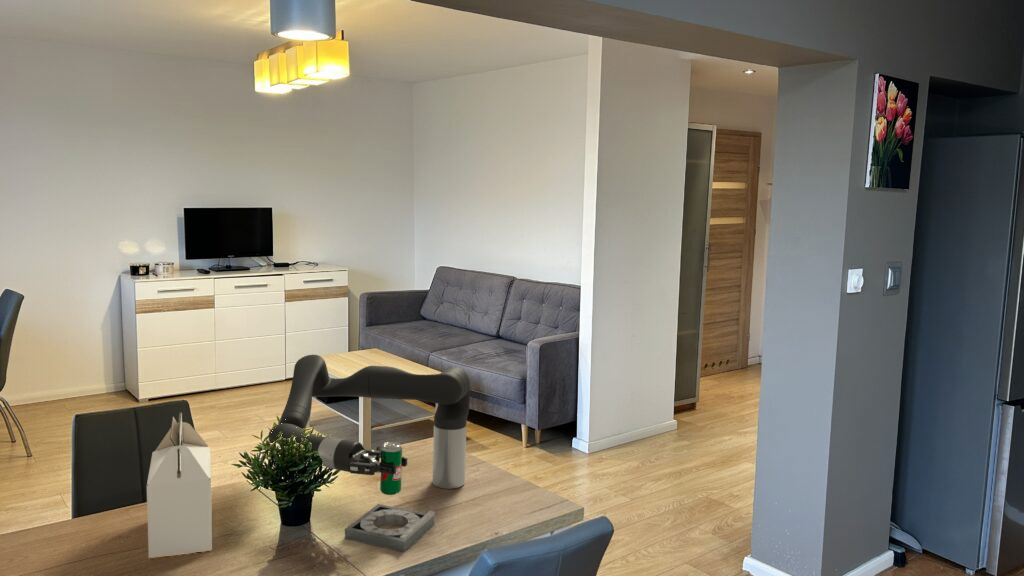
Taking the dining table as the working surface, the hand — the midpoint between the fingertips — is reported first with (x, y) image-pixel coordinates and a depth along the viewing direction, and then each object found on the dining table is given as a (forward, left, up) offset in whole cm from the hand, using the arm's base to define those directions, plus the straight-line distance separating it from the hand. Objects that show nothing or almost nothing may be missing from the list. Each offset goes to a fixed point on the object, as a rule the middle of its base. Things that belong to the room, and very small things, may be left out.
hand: (400, 466), depth 190 cm
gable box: (+22, -47, -18) cm, 54 cm away
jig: (0, -3, -17) cm, 17 cm away
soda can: (0, -3, -7) cm, 8 cm away
